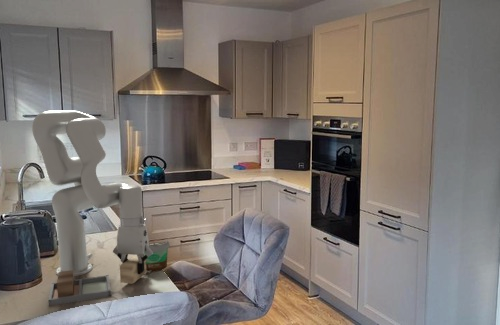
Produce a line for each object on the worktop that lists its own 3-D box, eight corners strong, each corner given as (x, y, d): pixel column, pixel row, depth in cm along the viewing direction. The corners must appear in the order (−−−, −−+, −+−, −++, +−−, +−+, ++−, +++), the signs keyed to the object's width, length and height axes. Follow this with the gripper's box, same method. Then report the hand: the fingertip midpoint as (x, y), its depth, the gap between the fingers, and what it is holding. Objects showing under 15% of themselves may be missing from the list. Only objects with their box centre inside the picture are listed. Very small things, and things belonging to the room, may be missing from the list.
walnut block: (59, 289, 152) (58, 272, 151) (74, 287, 153) (72, 270, 153) (58, 301, 143) (56, 282, 142) (73, 298, 144) (72, 280, 143)
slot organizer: (52, 288, 153) (51, 283, 153) (108, 280, 159) (108, 275, 159) (48, 306, 140) (48, 300, 139) (110, 296, 146) (110, 290, 145)
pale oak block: (135, 271, 162) (134, 255, 161) (146, 272, 161) (145, 256, 160) (120, 282, 153) (119, 265, 152) (132, 283, 152) (131, 266, 151)
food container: (140, 275, 164) (139, 248, 163) (137, 269, 170) (136, 243, 168) (174, 269, 169) (172, 243, 167) (170, 264, 174) (169, 239, 173)
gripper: (159, 219, 156) (160, 270, 159) (114, 217, 159) (116, 266, 162) (150, 225, 149) (152, 278, 151) (103, 223, 152) (105, 274, 155)
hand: (133, 271), depth 157 cm, fingers closed on pale oak block, 4 cm apart
